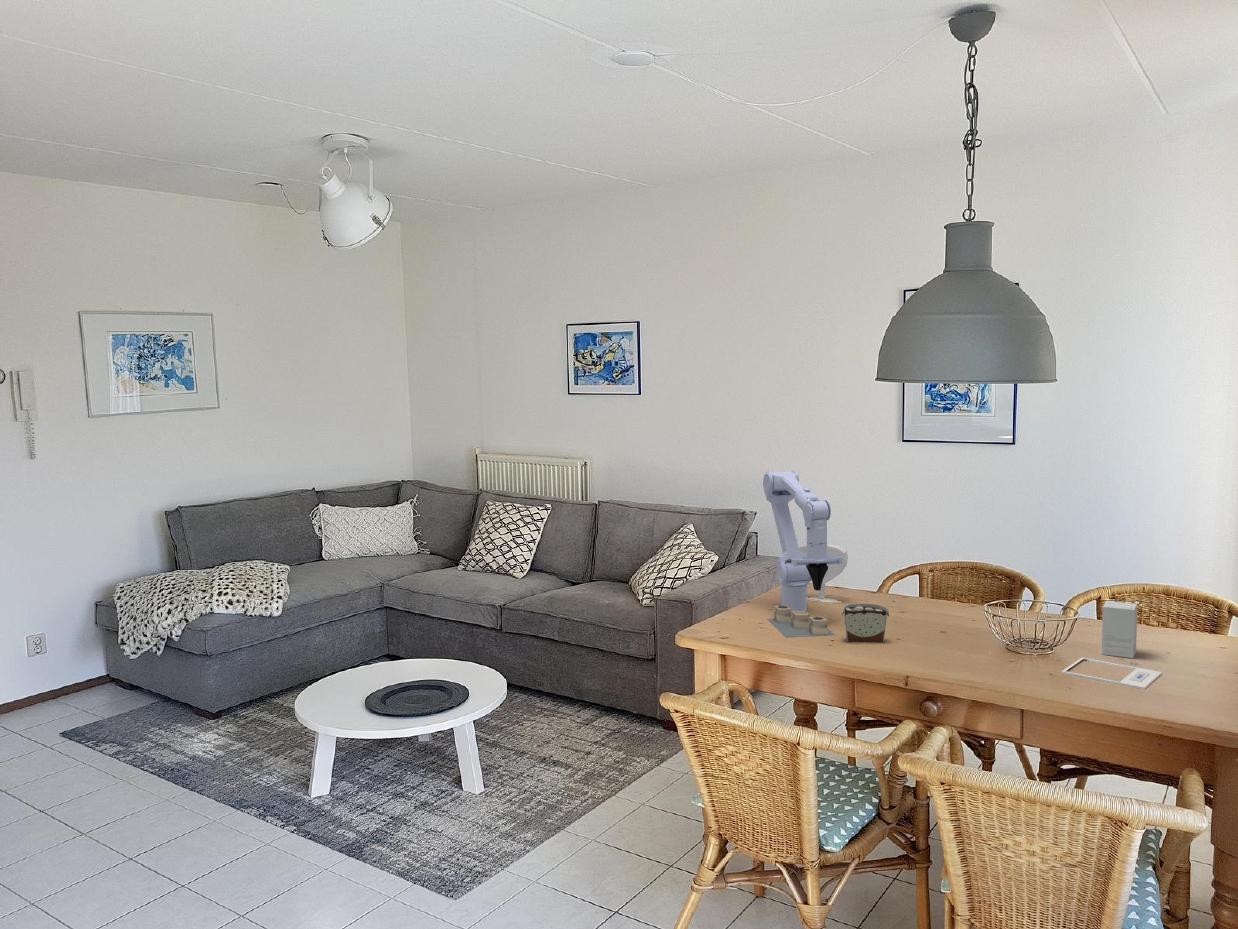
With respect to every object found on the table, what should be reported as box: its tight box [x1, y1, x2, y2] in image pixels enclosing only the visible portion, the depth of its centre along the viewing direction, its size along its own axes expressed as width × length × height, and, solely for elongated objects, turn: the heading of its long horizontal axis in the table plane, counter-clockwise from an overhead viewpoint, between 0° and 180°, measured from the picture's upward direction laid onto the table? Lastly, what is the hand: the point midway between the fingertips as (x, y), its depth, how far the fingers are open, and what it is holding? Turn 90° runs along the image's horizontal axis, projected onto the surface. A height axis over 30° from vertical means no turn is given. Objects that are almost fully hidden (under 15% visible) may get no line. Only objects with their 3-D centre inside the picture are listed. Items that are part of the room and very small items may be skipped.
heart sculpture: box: [799, 544, 849, 603], centre depth 302 cm, size 16×5×18 cm, turn 61°
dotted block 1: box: [773, 605, 792, 623], centre depth 276 cm, size 4×4×4 cm
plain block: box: [791, 611, 810, 629], centre depth 269 cm, size 4×4×4 cm
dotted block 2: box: [809, 616, 829, 635], centre depth 263 cm, size 4×4×4 cm
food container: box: [841, 603, 890, 644], centre depth 256 cm, size 12×6×10 cm, turn 84°
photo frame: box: [1061, 657, 1163, 690], centre depth 227 cm, size 15×1×18 cm
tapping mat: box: [766, 617, 836, 639], centre depth 270 cm, size 20×14×1 cm
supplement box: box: [1101, 600, 1138, 659], centre depth 243 cm, size 7×7×13 cm
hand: (817, 589), depth 273 cm, fingers closed
